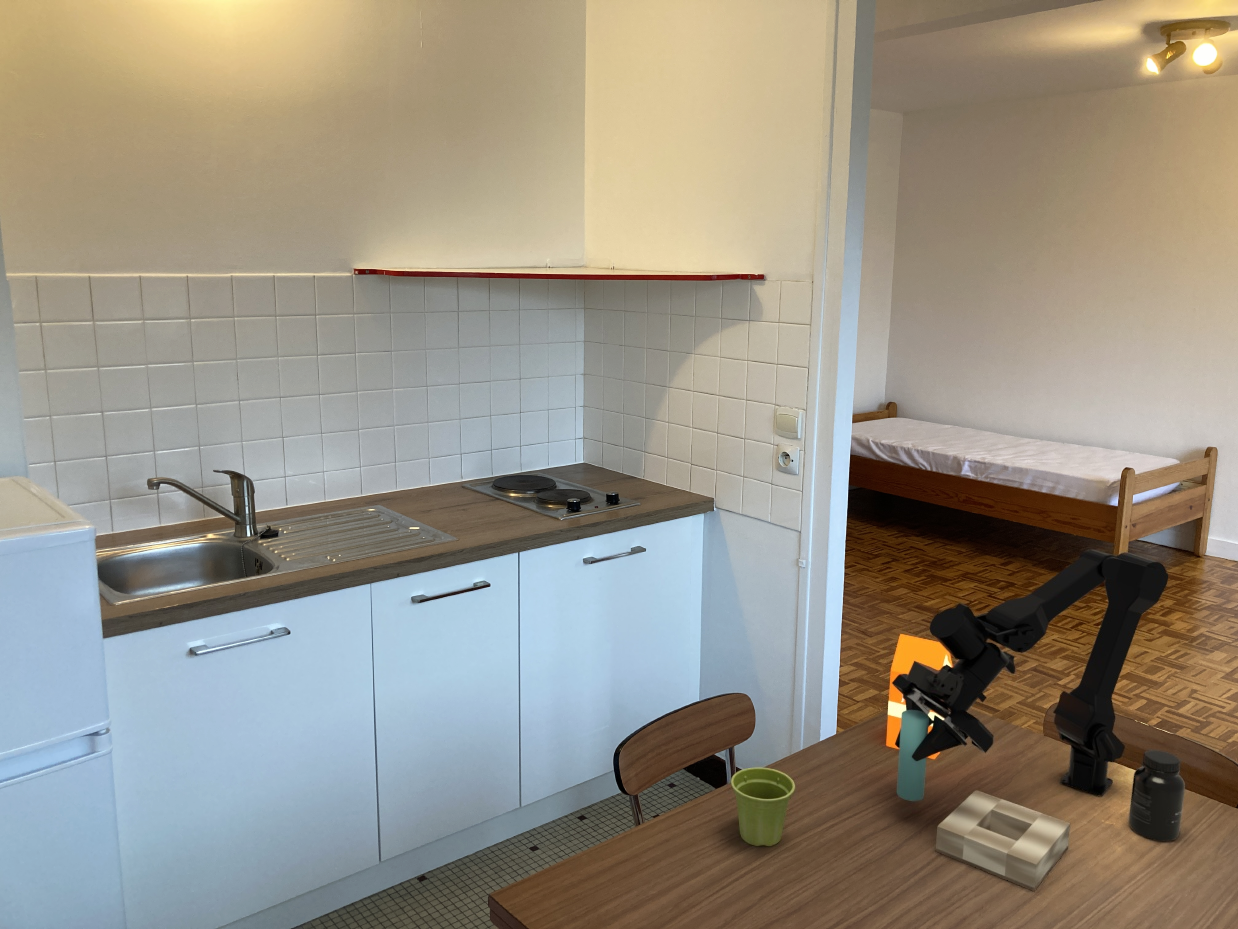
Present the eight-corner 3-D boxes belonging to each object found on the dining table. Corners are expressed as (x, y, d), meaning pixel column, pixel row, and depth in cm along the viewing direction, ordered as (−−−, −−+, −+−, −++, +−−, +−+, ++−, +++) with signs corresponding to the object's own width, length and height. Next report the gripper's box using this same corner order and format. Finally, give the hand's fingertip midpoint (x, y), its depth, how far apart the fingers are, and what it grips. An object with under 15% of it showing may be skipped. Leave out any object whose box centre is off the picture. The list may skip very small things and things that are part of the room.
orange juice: (900, 730, 180) (907, 627, 176) (948, 743, 175) (956, 638, 171) (885, 746, 174) (891, 640, 170) (934, 760, 169) (942, 651, 165)
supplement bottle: (1186, 845, 143) (1195, 770, 141) (1136, 840, 144) (1144, 765, 142) (1169, 820, 150) (1178, 748, 148) (1122, 815, 151) (1130, 744, 149)
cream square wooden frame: (974, 813, 151) (976, 790, 151) (1067, 848, 142) (1070, 823, 141) (935, 851, 141) (937, 826, 140) (1033, 891, 132) (1036, 864, 131)
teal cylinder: (904, 785, 152) (908, 707, 150) (928, 794, 150) (933, 715, 147) (892, 794, 149) (896, 715, 147) (916, 804, 147) (921, 723, 144)
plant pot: (805, 835, 145) (807, 782, 143) (769, 862, 138) (771, 806, 137) (753, 812, 151) (755, 761, 150) (716, 837, 145) (718, 783, 143)
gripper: (905, 624, 155) (841, 698, 154) (982, 667, 138) (912, 751, 136) (943, 665, 159) (882, 737, 157) (1023, 712, 142) (955, 793, 140)
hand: (905, 752), depth 148 cm, fingers closed on teal cylinder, 4 cm apart
